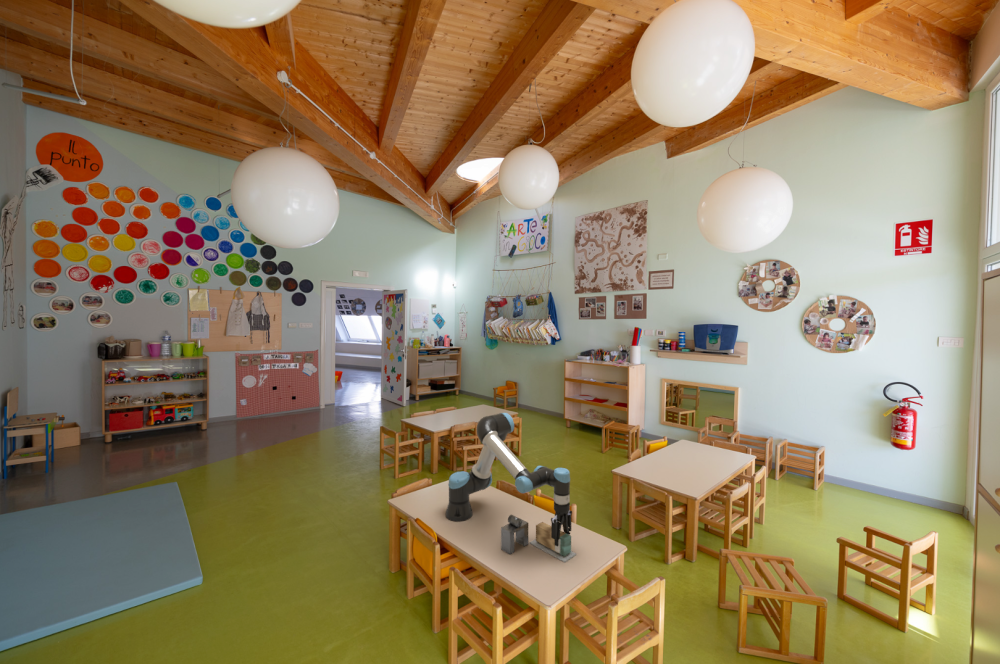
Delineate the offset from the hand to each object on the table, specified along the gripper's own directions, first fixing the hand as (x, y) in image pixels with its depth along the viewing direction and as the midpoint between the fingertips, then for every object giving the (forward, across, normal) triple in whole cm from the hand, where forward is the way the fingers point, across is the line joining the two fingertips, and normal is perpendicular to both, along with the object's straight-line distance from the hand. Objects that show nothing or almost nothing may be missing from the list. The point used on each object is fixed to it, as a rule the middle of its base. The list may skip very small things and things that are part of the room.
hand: (561, 549), depth 198 cm
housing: (+2, -12, +20) cm, 23 cm away
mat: (+2, 0, +6) cm, 6 cm away
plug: (+1, 0, +5) cm, 5 cm away
